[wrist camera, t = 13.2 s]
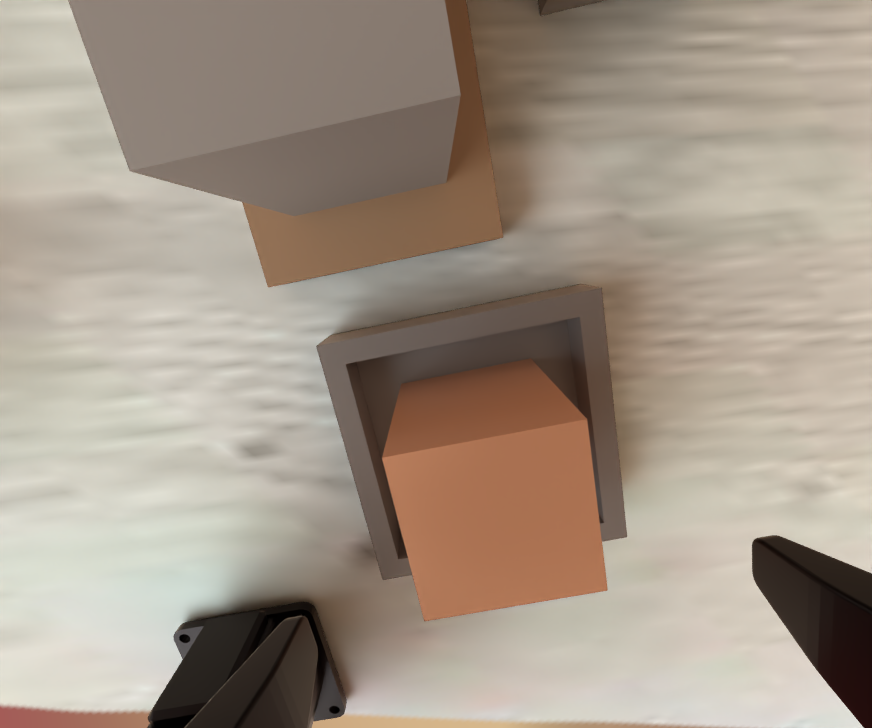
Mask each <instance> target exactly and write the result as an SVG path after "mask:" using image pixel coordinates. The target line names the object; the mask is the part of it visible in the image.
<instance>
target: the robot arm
mask: <svg viewBox="0 0 872 728" xmlns="http://www.w3.org/2000/svg"><path fill="white" fill-rule="evenodd" d="M752 572H753V577H754V580H755V582H756V584H757V586H758V588H759V589H760V591H761V592H762V593H763V595H764V596H765V598H766V599H767V601H768V602H769V603H770V605H771V606H772V608H773V609H774V610H775V612H776V613H777V615H778V616H779V618H780V619H781V620H782V622H783V623H784V625H785V626H786V628H787V629H788V630H789V632H790V633H791V635H792V636H793V638H794V639H795V640H796V642H797V643H798V645H799V646H800V648H801V649H802V650H803V652H804V653H805V655H806V656H807V657H808V659H809V660H810V662H811V663H812V664H813V666H814V667H815V668H816V670H817V671H818V672H819V674H820V675H821V676H822V677H823V679H824V680H825V681H826V682H827V684H828V685H829V686H830V687H831V688H832V690H833V691H834V692H835V693H836V694H837V696H838V697H839V698H840V699H841V700H842V702H843V703H844V704H845V705H846V707H847V708H848V709H849V710H850V711H851V713H852V714H853V715H854V716H855V717H856V719H857V720H858V721H859V722H860V723H861V725H862V726H863V727H864V728H872V573H869V572H867V571H864V570H862V569H859V568H857V567H854V566H852V565H850V564H847V563H845V562H842V561H840V560H837V559H835V558H832V557H830V556H827V555H825V554H822V553H820V552H818V551H815V550H813V549H810V548H808V547H805V546H803V545H800V544H798V543H795V542H793V541H791V540H788V539H786V538H783V537H780V536H777V535H772V536H766V537H760V538H756V539H754V541H753V543H752ZM302 614H305V615H302ZM174 641H175V643H176V645H177V648H178V650H179V652H180V654H181V656H182V658H183V660H182V662H181V664H180V665H179V667H178V668H177V670H176V672H175V673H174V675H173V676H172V678H171V680H170V681H169V683H168V684H167V686H166V688H165V689H164V691H163V693H162V694H161V696H160V697H159V699H158V701H157V702H156V704H155V705H154V707H153V709H152V710H151V712H150V713H149V716H148V720H149V722H150V724H149V726H148V728H312V724H313V721H319V720H325V719H331V718H337V717H340V716H342V715H343V714H344V712H345V708H346V703H347V702H346V697H345V694H344V691H343V688H342V685H341V683H340V680H339V677H338V674H337V671H336V668H335V665H334V662H333V659H332V656H331V653H330V650H329V647H328V644H327V641H326V638H325V636H324V633H323V630H322V627H321V624H320V621H319V618H318V615H317V612H316V609H315V607H314V606H313V605H312V604H310V603H308V602H299V603H294V604H288V605H282V606H276V607H271V608H265V609H259V610H254V611H248V612H242V613H236V614H231V615H225V616H219V617H213V618H208V619H202V620H196V621H190V622H185V623H183V624H181V625H180V627H179V628H178V629H177V631H176V632H175V634H174Z"/></svg>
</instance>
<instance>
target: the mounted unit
mask: <svg viewBox="0 0 872 728" xmlns="http://www.w3.org/2000/svg"><path fill="white" fill-rule="evenodd" d="M68 1H69V4H70V7H71V10H72V12H73V15H74V18H75V21H76V23H77V26H78V29H79V32H80V34H81V37H82V40H83V43H84V46H85V48H86V51H87V54H88V57H89V59H90V62H91V65H92V68H93V70H94V73H95V76H96V79H97V82H98V84H99V87H100V90H101V93H102V95H103V98H104V101H105V104H106V106H107V109H108V112H109V115H110V118H111V120H112V123H113V126H114V129H115V131H116V134H117V137H118V140H119V142H120V145H121V148H122V151H123V154H124V156H125V159H126V162H127V165H128V167H129V170H130V171H131V172H135V173H139V174H142V175H146V176H150V177H153V178H157V179H161V180H164V181H168V182H172V183H175V184H179V185H182V186H186V187H190V188H193V189H197V190H201V191H204V192H208V193H212V194H215V195H219V196H222V197H226V198H230V199H233V200H237V201H241V202H242V203H243V206H244V209H245V213H246V216H247V219H248V223H249V226H250V229H251V232H252V236H253V239H254V242H255V246H256V249H257V252H258V256H259V259H260V262H261V265H262V269H263V272H264V275H265V279H266V282H267V285H268V287H272V286H277V285H283V284H287V283H292V282H297V281H301V280H306V279H311V278H316V277H320V276H325V275H330V274H334V273H339V272H344V271H349V270H353V269H358V268H363V267H367V266H372V265H377V264H381V263H386V262H391V261H396V260H400V259H405V258H410V257H414V256H419V255H424V254H429V253H433V252H438V251H443V250H447V249H452V248H457V247H461V246H466V245H471V244H476V243H480V242H485V241H490V240H494V239H499V238H503V233H502V226H501V220H500V214H499V207H498V201H497V195H496V188H495V182H494V176H493V169H492V163H491V156H490V150H489V144H488V137H487V131H486V125H485V118H484V112H483V106H482V99H481V93H480V87H479V80H478V74H477V67H476V61H475V55H474V48H473V42H472V36H471V29H470V23H469V17H468V10H467V4H466V0H68Z"/></svg>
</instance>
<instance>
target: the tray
mask: <svg viewBox="0 0 872 728" xmlns="http://www.w3.org/2000/svg"><path fill="white" fill-rule="evenodd" d="M316 347H317V350H318V354H319V357H320V361H321V364H322V368H323V371H324V375H325V378H326V382H327V385H328V389H329V392H330V396H331V399H332V403H333V406H334V410H335V413H336V417H337V420H338V424H339V427H340V431H341V434H342V438H343V441H344V445H345V449H346V452H347V456H348V459H349V463H350V466H351V470H352V473H353V477H354V480H355V484H356V487H357V491H358V494H359V498H360V501H361V505H362V508H363V512H364V515H365V519H366V522H367V526H368V529H369V533H370V536H371V540H372V544H373V547H374V551H375V554H376V558H377V561H378V565H379V568H380V572H381V575H382V579H383V580H386V579H391V578H397V577H403V576H408V575H412V571H411V567H410V564H409V560H408V556H407V552H406V548H405V544H404V540H403V537H402V533H401V529H400V525H399V521H398V517H397V514H396V510H395V506H394V502H393V498H392V494H391V490H390V487H389V483H388V479H387V475H386V471H385V467H384V463H383V460H382V456H383V452H384V448H385V444H386V440H387V437H388V433H389V429H390V425H391V421H392V417H393V413H394V409H395V406H396V402H397V398H398V394H399V390H400V386H401V384H403V383H408V382H413V381H418V380H423V379H428V378H433V377H439V376H444V375H449V374H454V373H459V372H464V371H469V370H474V369H479V368H484V367H490V366H495V365H500V364H505V363H510V362H515V361H520V360H525V359H530V358H531V359H532V360H533V361H534V362H535V364H536V365H537V366H538V367H539V368H540V369H541V370H542V371H543V372H544V373H545V374H546V375H547V376H548V378H549V379H550V380H551V381H552V382H553V383H554V384H555V385H556V386H557V387H558V388H559V389H560V390H561V392H562V393H563V394H564V395H565V396H566V397H567V398H568V399H569V400H570V401H571V402H572V403H573V404H574V406H575V407H576V408H577V409H578V410H579V411H580V412H581V413H582V414H583V415H584V416H585V417H586V418H587V422H588V430H589V438H590V447H591V455H592V464H593V472H594V480H595V489H596V497H597V505H598V514H599V522H600V531H601V539H602V541H608V540H614V539H619V538H625V537H627V530H626V520H625V511H624V501H623V491H622V482H621V472H620V462H619V452H618V443H617V433H616V423H615V414H614V404H613V394H612V384H611V375H610V365H609V355H608V346H607V336H606V326H605V316H604V307H603V297H602V288H600V287H595V286H589V285H584V284H577V285H572V286H567V287H562V288H558V289H553V290H548V291H543V292H538V293H533V294H528V295H524V296H519V297H514V298H509V299H504V300H499V301H494V302H489V303H485V304H480V305H475V306H470V307H465V308H460V309H455V310H450V311H446V312H441V313H436V314H431V315H426V316H421V317H416V318H411V319H407V320H402V321H397V322H392V323H387V324H382V325H377V326H372V327H368V328H363V329H358V330H353V331H348V332H343V333H338V334H334V335H330V336H329V337H328V338H326V339H325V340H324V341H322V342H321V343H320V344H319V345H317V346H316Z"/></svg>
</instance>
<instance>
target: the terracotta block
mask: <svg viewBox="0 0 872 728" xmlns="http://www.w3.org/2000/svg"><path fill="white" fill-rule="evenodd" d="M382 460H383V463H384V467H385V471H386V475H387V479H388V483H389V487H390V490H391V494H392V498H393V502H394V506H395V510H396V514H397V517H398V521H399V525H400V529H401V533H402V537H403V540H404V544H405V548H406V552H407V556H408V560H409V564H410V567H411V571H412V575H413V579H414V583H415V587H416V591H417V594H418V598H419V602H420V606H421V610H422V614H423V617H424V621H429V620H435V619H441V618H447V617H453V616H459V615H465V614H471V613H476V612H482V611H488V610H494V609H500V608H506V607H512V606H518V605H524V604H530V603H536V602H542V601H548V600H554V599H560V598H566V597H571V596H577V595H583V594H589V593H595V592H601V591H607V590H608V589H607V581H606V572H605V564H604V556H603V547H602V539H601V531H600V522H599V514H598V505H597V497H596V489H595V480H594V472H593V464H592V455H591V447H590V438H589V430H588V422H587V418H586V417H585V416H584V415H583V414H582V413H581V412H580V411H579V410H578V409H577V408H576V407H575V406H574V404H573V403H572V402H571V401H570V400H569V399H568V398H567V397H566V396H565V395H564V394H563V393H562V392H561V390H560V389H559V388H558V387H557V386H556V385H555V384H554V383H553V382H552V381H551V380H550V379H549V378H548V376H547V375H546V374H545V373H544V372H543V371H542V370H541V369H540V368H539V367H538V366H537V365H536V364H535V362H534V361H533V360H532V359H531V358H530V359H525V360H520V361H515V362H510V363H505V364H500V365H495V366H490V367H484V368H479V369H474V370H469V371H464V372H459V373H454V374H449V375H444V376H439V377H433V378H428V379H423V380H418V381H413V382H408V383H403V384H401V386H400V390H399V394H398V398H397V402H396V406H395V409H394V413H393V417H392V421H391V425H390V429H389V433H388V437H387V440H386V444H385V448H384V452H383V456H382Z"/></svg>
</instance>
